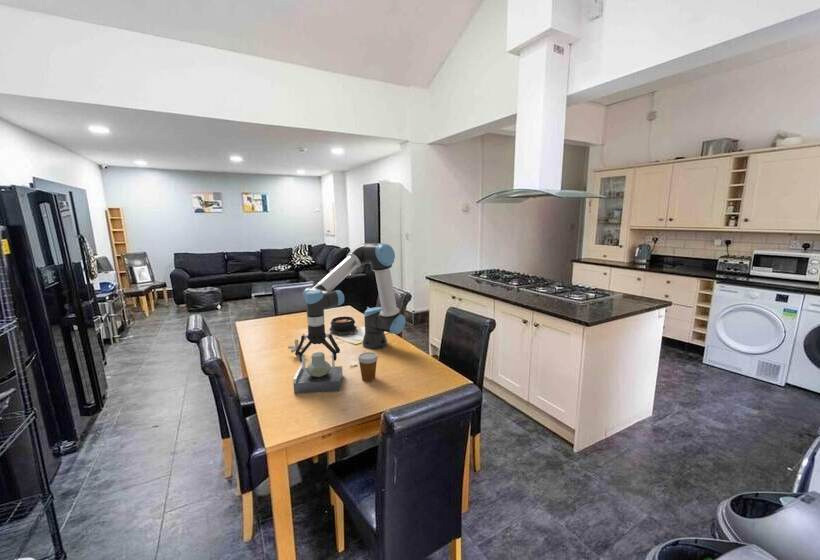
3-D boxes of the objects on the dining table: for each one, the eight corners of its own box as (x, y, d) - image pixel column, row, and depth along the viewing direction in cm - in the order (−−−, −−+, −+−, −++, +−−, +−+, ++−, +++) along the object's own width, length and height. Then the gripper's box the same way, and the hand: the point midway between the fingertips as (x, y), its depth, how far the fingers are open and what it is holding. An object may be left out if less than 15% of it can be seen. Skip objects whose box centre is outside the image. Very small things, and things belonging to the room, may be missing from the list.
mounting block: (342, 375, 174) (342, 362, 173) (339, 391, 158) (338, 377, 157) (301, 377, 172) (300, 364, 171) (294, 393, 156) (293, 379, 155)
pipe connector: (301, 360, 193) (300, 343, 191) (284, 358, 195) (283, 341, 193) (309, 353, 203) (308, 337, 201) (294, 352, 205) (292, 335, 203)
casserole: (325, 328, 248) (324, 316, 247) (350, 324, 257) (349, 313, 256) (335, 338, 227) (334, 326, 225) (362, 334, 235) (361, 322, 234)
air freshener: (306, 379, 159) (305, 359, 157) (307, 372, 167) (305, 352, 165) (331, 376, 162) (330, 356, 160) (330, 369, 170) (329, 349, 168)
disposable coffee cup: (370, 385, 164) (369, 361, 162) (354, 380, 169) (353, 357, 167) (382, 377, 172) (381, 354, 170) (367, 372, 177) (366, 350, 175)
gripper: (286, 328, 155) (289, 372, 159) (342, 325, 157) (344, 369, 161) (290, 322, 162) (293, 365, 166) (344, 320, 165) (346, 362, 169)
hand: (318, 367), depth 164 cm, fingers open, 13 cm apart
